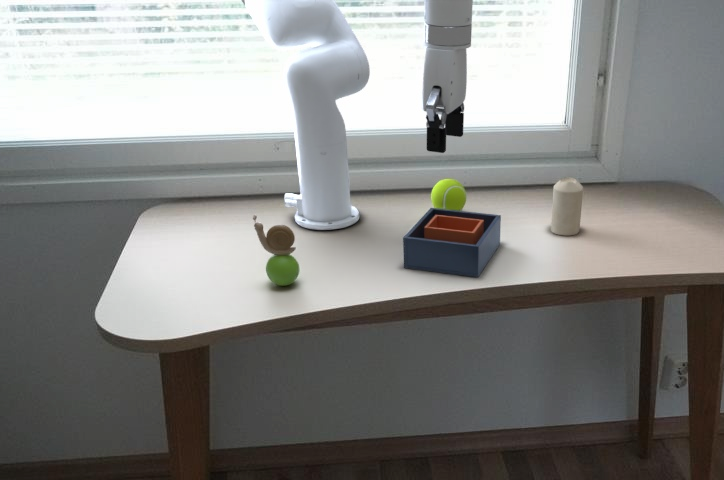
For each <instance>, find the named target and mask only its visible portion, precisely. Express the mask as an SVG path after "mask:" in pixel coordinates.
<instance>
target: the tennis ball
mask: <svg viewBox="0 0 724 480" xmlns="http://www.w3.org/2000/svg"><path fill="white" fill-rule="evenodd" d="M430 193H431V194H430V200H431V204H432V206H433V208H439V209H448V210H457V211H462V210H463V208H464V207H465V205H466V201H467V191H466V189H465V186H464V185H463V184H462V183H461V182H459V181H458V180H456V179H453V178H443V179H441V180H439V181H438V182H437V183H436V184H435V185H434V186H433V188H432V189H431V192H430Z"/></svg>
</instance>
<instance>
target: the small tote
mask: <svg viewBox="0 0 724 480" xmlns="http://www.w3.org/2000/svg"><path fill="white" fill-rule="evenodd" d="M483 234H484V220H479V219H470V218H461V217H452V216H443V215H435V216H434V217H433V218H432V219H431V220H430V222H429V223H428V224H427V225H426V226H425V227H424V237H425V239H431V240H440V241H448V242H457V243H465V244H473V245H476V244H477V242H478V241H479V240H480V238H481V237H482V236H483Z"/></svg>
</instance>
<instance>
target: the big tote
mask: <svg viewBox="0 0 724 480" xmlns="http://www.w3.org/2000/svg"><path fill="white" fill-rule="evenodd" d="M435 215H443V216H452V217H461V218H470V219H479V220H484V234H483V236H482V237H481V238H480V240H479V241H478V242H477V244H476V245H473V244H465V243H457V242H448V241H440V240H431V239H425V237H424V227H425V226H426V225H427V224H428V223H429V222H430V220H431V219H432V218H433V217H434V216H435ZM501 222H502V215H501V214H492V213H483V212H474V211H465V210H460V211H457V210H448V209H439V208H434V207H430V208H429V209H428V210H427V211H426V212H425V213H424V214H423V215H422V216H421V217H420V218H419V220H418V221H416V223H415V224H414V225H413V226H412V227H411V228H410V229H409V231H407V233H406V234H405V235H404V236H403V237H402V250H403V268H404V269H409V270H418V271H424V272H425V271H426V272H431V273H441V274H447V275H448V274H449V275H457V276H463V277H464V276H465V277H471V278H479V276H480V275H481V274H482V272H483V270H484V269H485V267H486V266H487V265H488V263H489V261H490V260H491V259H492V257H493V255H494V254H495V252H496V251H497V250H498V248H499V246H500V245H501V227H502V225H501V224H502V223H501Z"/></svg>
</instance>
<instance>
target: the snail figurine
mask: <svg viewBox="0 0 724 480" xmlns="http://www.w3.org/2000/svg"><path fill="white" fill-rule="evenodd" d="M257 217H258V216H257V215H256V214H253V216H252V219H253V221H254V225H253V227H254V230H255V231H256V235H257V237H258V240H259V242H260V244H261V246H262V247H263V249H264V250H265V251H266V252H267V253H269V254H272V255H271V256H270V257H269V258H268V260H267V262H266V265H265V273H266V276H267V278H268V279H269V280H270V281H271V283H273V284H275V285H277V286H280V287H281V286H282V287H284V286H289V285H291V284H293V283H294V282H295V281H297V279H298V277H299V275H300V265H299V262H298V260H297V258H296V257H294V256H293V255H292V254H293V253H294V251H296V249H297V247H296V246H293V245H294V244H295V240H296V238H295V233H294V232H293V230H292V229H291V228H290V227H289V226H287V225H285V224H275V225H273V226H271V227H270V228H269V229H268V230H267V232H266V234H265V232H264V225H263V223H261V222H259V221H256V220H257Z"/></svg>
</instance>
